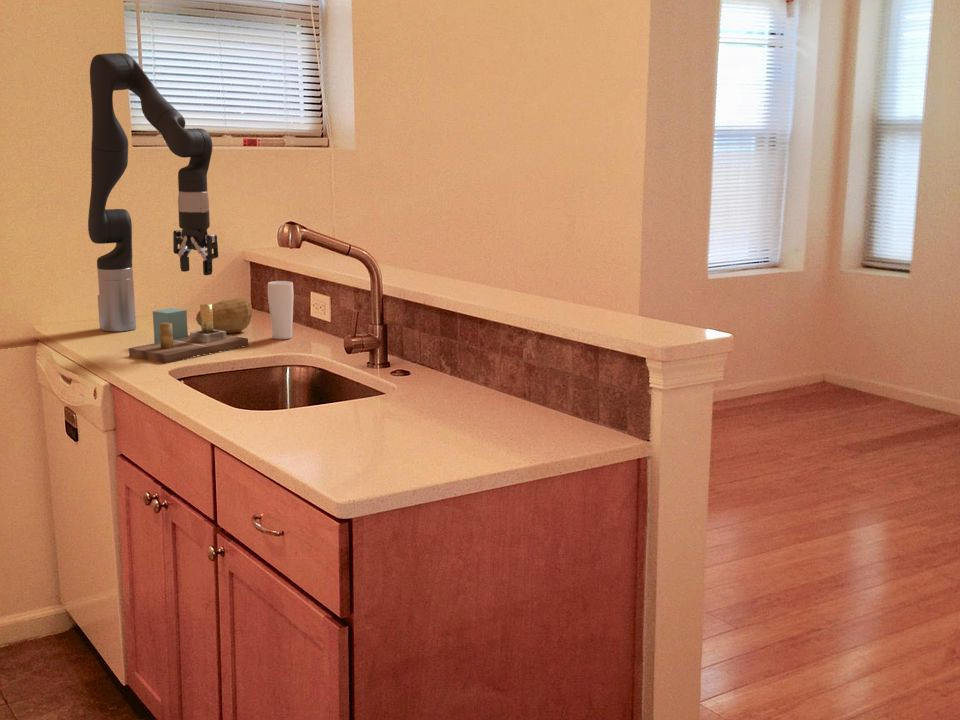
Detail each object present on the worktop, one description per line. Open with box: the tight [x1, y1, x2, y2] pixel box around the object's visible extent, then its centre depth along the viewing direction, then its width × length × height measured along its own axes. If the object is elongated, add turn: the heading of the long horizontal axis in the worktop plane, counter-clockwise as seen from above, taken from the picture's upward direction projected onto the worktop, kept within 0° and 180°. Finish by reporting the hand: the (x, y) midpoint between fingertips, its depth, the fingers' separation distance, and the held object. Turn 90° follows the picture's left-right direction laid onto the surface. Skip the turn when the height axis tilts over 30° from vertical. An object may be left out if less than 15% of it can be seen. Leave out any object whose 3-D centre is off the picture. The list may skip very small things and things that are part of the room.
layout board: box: [128, 323, 249, 364], centre depth 271 cm, size 14×26×8 cm, turn 144°
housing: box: [152, 307, 189, 343], centre depth 280 cm, size 6×6×9 cm
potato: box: [195, 297, 253, 334], centre depth 295 cm, size 9×16×9 cm, turn 117°
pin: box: [199, 303, 214, 334], centre depth 275 cm, size 3×3×9 cm
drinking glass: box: [267, 280, 295, 340], centre depth 287 cm, size 7×7×15 cm
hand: (196, 273), depth 275 cm, fingers open, 8 cm apart
